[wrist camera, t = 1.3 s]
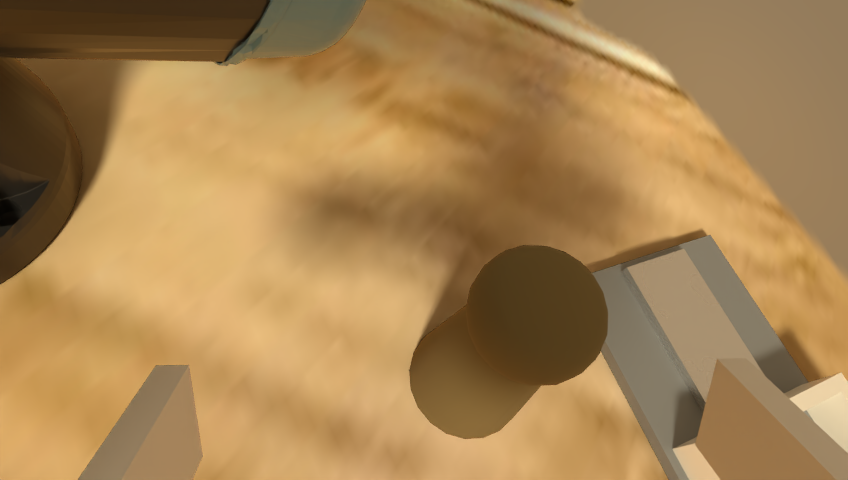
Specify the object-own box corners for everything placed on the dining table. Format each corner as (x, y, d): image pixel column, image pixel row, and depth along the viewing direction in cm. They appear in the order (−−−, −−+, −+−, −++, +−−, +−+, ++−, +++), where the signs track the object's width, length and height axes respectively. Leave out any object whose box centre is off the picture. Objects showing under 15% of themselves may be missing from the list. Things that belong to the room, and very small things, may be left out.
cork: (450, 463, 26) (542, 419, 17) (387, 354, 28) (437, 259, 19) (544, 400, 29) (669, 330, 19) (480, 303, 31) (566, 197, 21)
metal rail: (620, 272, 33) (626, 267, 32) (676, 253, 34) (683, 248, 34) (886, 733, 24) (901, 738, 23) (945, 679, 26) (960, 683, 25)
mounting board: (566, 284, 32) (572, 279, 32) (702, 240, 36) (710, 234, 36) (830, 784, 23) (846, 791, 23) (973, 653, 27) (990, 656, 27)
